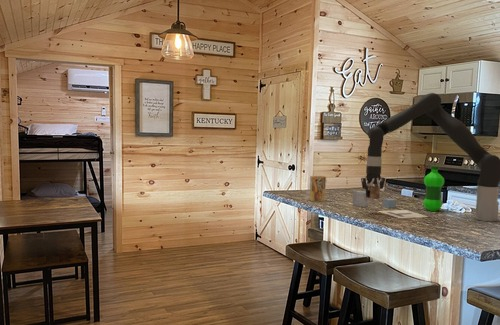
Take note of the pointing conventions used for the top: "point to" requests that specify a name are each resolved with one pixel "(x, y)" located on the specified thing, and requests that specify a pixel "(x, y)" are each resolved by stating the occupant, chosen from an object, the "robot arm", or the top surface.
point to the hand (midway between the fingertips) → (372, 196)
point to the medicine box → (360, 199)
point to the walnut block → (374, 192)
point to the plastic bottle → (433, 189)
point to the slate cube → (389, 203)
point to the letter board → (403, 214)
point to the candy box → (317, 188)
